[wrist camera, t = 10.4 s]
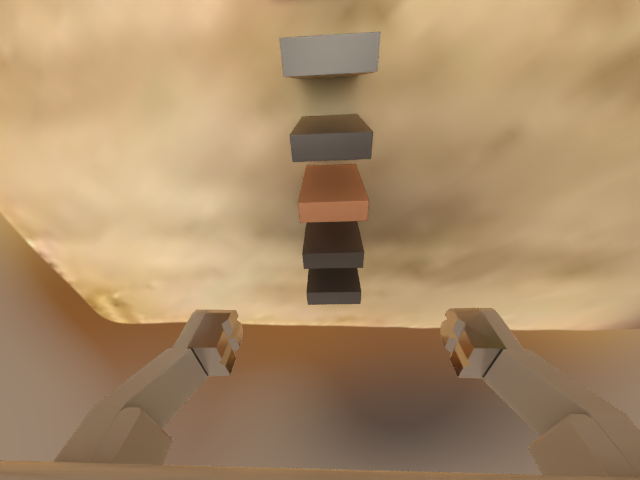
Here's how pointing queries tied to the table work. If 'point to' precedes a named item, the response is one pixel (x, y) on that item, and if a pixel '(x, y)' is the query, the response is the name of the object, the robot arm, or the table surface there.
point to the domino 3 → (332, 194)
